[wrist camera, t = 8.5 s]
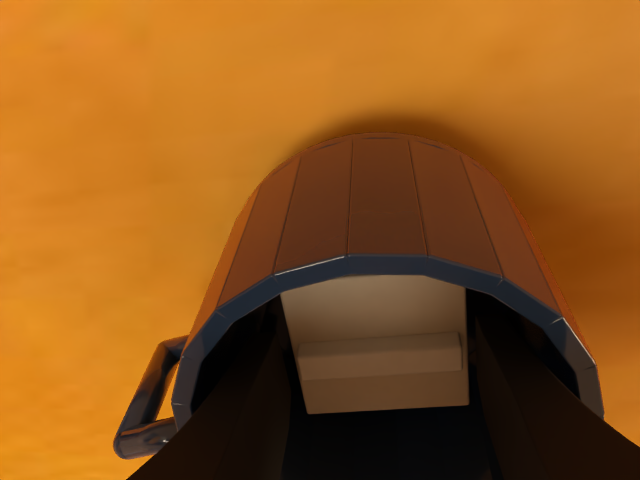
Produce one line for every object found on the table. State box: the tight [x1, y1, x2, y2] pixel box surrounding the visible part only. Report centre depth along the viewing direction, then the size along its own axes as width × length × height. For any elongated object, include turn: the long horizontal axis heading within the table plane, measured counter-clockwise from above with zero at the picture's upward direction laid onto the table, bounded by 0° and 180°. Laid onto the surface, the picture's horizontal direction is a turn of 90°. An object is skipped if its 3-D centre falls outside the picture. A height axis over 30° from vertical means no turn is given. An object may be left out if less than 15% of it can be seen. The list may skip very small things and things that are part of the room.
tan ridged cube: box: [280, 275, 470, 414], centre depth 16 cm, size 4×4×4 cm
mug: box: [113, 132, 605, 480], centre depth 15 cm, size 12×9×6 cm
